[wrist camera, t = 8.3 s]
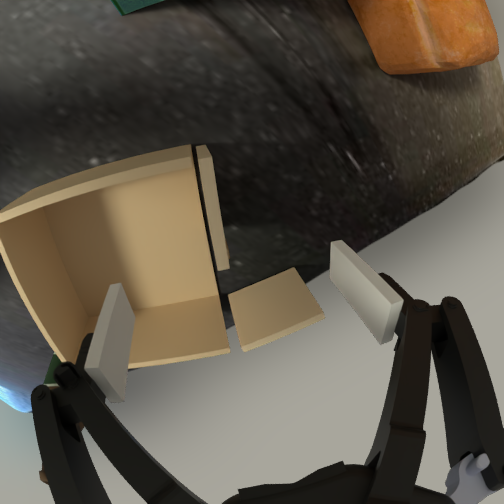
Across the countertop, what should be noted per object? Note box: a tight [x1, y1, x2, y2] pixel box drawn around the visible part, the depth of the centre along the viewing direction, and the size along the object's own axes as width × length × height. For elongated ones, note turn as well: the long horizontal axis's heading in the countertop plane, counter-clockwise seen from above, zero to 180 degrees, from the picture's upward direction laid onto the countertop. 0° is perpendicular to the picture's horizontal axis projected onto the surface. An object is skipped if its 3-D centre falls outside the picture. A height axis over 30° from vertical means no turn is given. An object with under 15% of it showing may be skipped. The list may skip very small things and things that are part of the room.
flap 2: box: [228, 267, 325, 352], centre depth 33 cm, size 1×9×10 cm, turn 109°
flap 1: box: [196, 145, 230, 271], centre depth 26 cm, size 1×9×10 cm, turn 6°
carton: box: [0, 144, 230, 369], centre depth 27 cm, size 20×20×10 cm
